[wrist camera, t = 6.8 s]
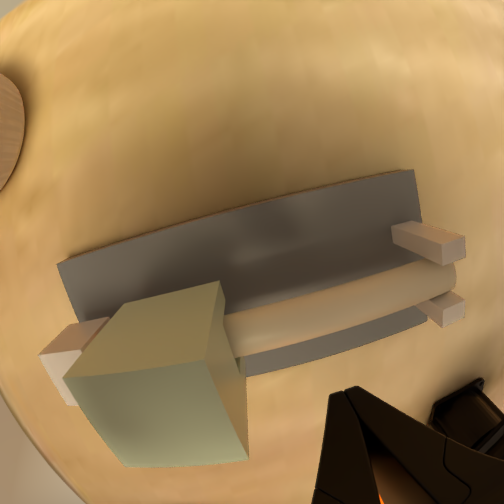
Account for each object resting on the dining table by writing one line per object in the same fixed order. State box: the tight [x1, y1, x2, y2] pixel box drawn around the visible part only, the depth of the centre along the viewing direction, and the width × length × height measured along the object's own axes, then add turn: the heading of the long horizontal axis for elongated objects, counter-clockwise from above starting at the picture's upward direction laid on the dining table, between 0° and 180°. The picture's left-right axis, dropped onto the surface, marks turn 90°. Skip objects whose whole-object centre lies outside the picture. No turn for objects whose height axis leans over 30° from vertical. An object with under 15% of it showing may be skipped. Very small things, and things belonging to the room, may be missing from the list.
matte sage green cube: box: [62, 280, 249, 468], centre depth 11 cm, size 5×5×6 cm
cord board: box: [38, 170, 466, 406], centre depth 15 cm, size 22×10×7 cm, turn 104°
